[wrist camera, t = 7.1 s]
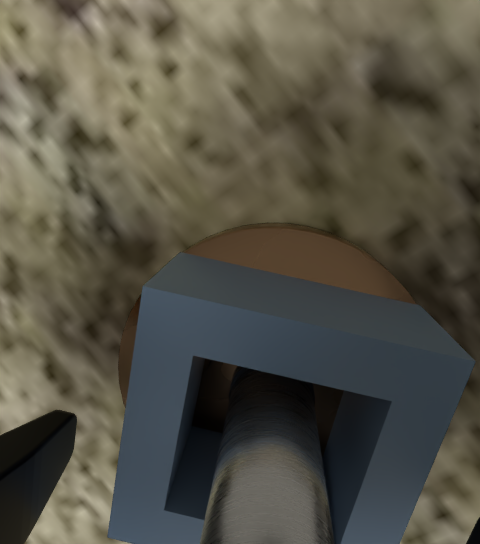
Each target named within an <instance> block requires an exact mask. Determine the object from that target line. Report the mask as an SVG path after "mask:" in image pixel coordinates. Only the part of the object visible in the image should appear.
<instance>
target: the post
mask: <svg viewBox="0 0 480 544" xmlns="http://www.w3.org/2000/svg"><path fill="white" fill-rule="evenodd" d="M182 253H187V254H191V255H196V256H200V257H205V258H209V259H214V260H218V261H223V262H227V263H232V264H236V265H241V266H245V267H250V268H254V269H259V270H263V271H268V272H272V273H277V274H281V275H286V276H290V277H295V278H299V279H304V280H308V281H313V282H317V283H322V284H326V285H331V286H335V287H340V288H344V289H349V290H353V291H358V292H362V293H367V294H371V295H376V296H380V297H384V298H389V299H393V300H398V301H402V302H407V303H411V304H416V303H415V301H414V300H413V298H412V297H411V295H410V294H409V293H408V291H407V290H406V289H405V288H404V287H403V286H402V285H401V284H400V282H399V281H398V280H397V279H396V278H395V277H394V276H393V275H392V274H391V273H390V272H389V271H388V270H387V269H386V268H385V267H384V266H383V265H382V264H381V263H379V262H378V261H377V260H376V259H375V258H373V257H372V256H371V255H370V254H369V253H367V252H366V251H364V250H362V249H361V248H359V247H358V246H356V245H354V244H353V243H351V242H349V241H347V240H345V239H343V238H341V237H338V236H336V235H334V234H332V233H329V232H326V231H322V230H319V229H315V228H312V227H308V226H301V225H295V224H289V223H262V224H252V225H245V226H241V227H237V228H232V229H228V230H225V231H222V232H220V233H217V234H214V235H212V236H209V237H207V238H205V239H203V240H201V241H200V242H198V243H196V244H194V245H192V246H191V247H189V248H188V249H186V250H185V251H184V252H182ZM141 295H142V293H141ZM141 295H140V296H139V298H138V299H137V301H136V303H135V305H134V307H133V309H132V310H131V312H130V314H129V317H128V320H127V322H126V325H125V328H124V330H123V334H122V339H121V344H120V349H119V363H118V371H119V384H120V389H121V394H122V398H123V403H124V405H125V408H126V401H127V394H128V387H129V380H130V373H131V366H132V359H133V352H134V345H135V338H136V330H137V323H138V316H139V309H140V302H141ZM416 305H417V304H416ZM343 392H344V390H340V389H336V388H332V387H328V386H323V385H319V384H315V383H310V382H306V381H302V380H297V379H293V378H289V377H284V376H280V375H276V374H271V373H267V372H263V371H258V370H254V369H250V368H246V367H241V366H237V365H233V364H228V363H224V362H220V361H215V360H211V359H207V358H205V362H204V367H203V372H202V377H201V382H200V387H199V392H198V397H197V402H196V407H195V412H194V417H193V422H192V426H194V427H199V428H203V429H207V430H211V431H215V432H220V433H222V438H221V443H220V448H219V453H218V457H217V462H216V467H215V472H214V477H213V482H212V486H211V491H210V496H209V501H208V506H207V511H206V515H205V520H204V525H203V530H202V535H201V540H200V544H334V537H333V530H332V523H331V516H330V510H329V503H328V496H327V489H326V482H325V476H324V469H323V462H322V457H323V455H324V452H325V448H326V445H327V442H328V439H329V436H330V433H331V430H332V426H333V423H334V420H335V417H336V414H337V411H338V408H339V405H340V401H341V398H342V395H343Z"/></svg>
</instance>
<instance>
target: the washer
mask: <svg viewBox="0 0 480 544" xmlns="http://www.w3.org/2000/svg"><path fill="white" fill-rule="evenodd" d="M205 358H207V359H211V360H215V361H220V362H224V363H228V364H233V365H237V366H241V367H246V368H250V369H254V370H258V371H263V372H267V373H271V374H276V375H280V376H284V377H289V378H293V379H297V380H302V381H306V382H310V383H315V384H319V385H323V386H328V387H332V388H336V389H340V390H344V392H343V395H342V398H341V401H340V405H339V408H338V411H337V414H336V417H335V420H334V423H333V426H332V430H331V433H330V436H329V439H328V442H327V445H326V448H325V452H324V455H323V457H322V462H323V469H324V476H325V482H326V489H327V496H328V503H329V510H330V516H331V523H332V530H333V537H334V544H400V541H401V539H402V537H403V534H404V532H405V529H406V527H407V525H408V522H409V520H410V517H411V515H412V513H413V510H414V508H415V506H416V503H417V501H418V498H419V496H420V494H421V491H422V489H423V486H424V484H425V482H426V479H427V477H428V474H429V472H430V470H431V467H432V465H433V463H434V460H435V458H436V455H437V453H438V451H439V448H440V446H441V443H442V441H443V439H444V436H445V434H446V431H447V429H448V427H449V424H450V422H451V420H452V417H453V415H454V412H455V410H456V408H457V405H458V403H459V400H460V398H461V396H462V393H463V391H464V388H465V386H466V384H467V381H468V379H469V377H470V374H471V372H472V369H473V367H474V365H475V362H476V361H475V360H474V359H473V358H472V357H471V356H470V355H469V354H468V353H467V352H466V351H465V350H464V349H463V348H462V347H461V346H460V345H459V344H458V343H457V342H456V341H455V340H454V339H453V338H452V337H451V336H450V335H449V334H448V333H447V332H446V331H445V330H444V329H443V328H442V327H441V326H440V325H439V324H438V323H437V322H436V321H435V320H434V319H433V318H432V317H431V316H430V315H429V314H428V313H427V312H426V311H425V310H424V309H423V308H422V307H421V306H420V305H416V304H411V303H407V302H402V301H398V300H393V299H389V298H384V297H380V296H376V295H371V294H367V293H362V292H358V291H353V290H349V289H344V288H340V287H335V286H331V285H326V284H322V283H317V282H313V281H308V280H304V279H299V278H295V277H290V276H286V275H281V274H277V273H272V272H268V271H263V270H259V269H254V268H250V267H245V266H241V265H236V264H232V263H227V262H223V261H218V260H214V259H209V258H205V257H200V256H196V255H191V254H187V253H182V252H180V253H179V254H177V255H176V256H175V257H174V258H173V259H172V260H171V261H170V262H169V263H168V264H166V265H165V266H164V267H163V268H162V269H161V270H160V271H159V272H158V273H157V274H155V275H154V276H153V277H152V278H151V279H150V280H149V281H148V282H147V283H146V284H144V285H143V288H142V295H141V302H140V309H139V316H138V323H137V330H136V338H135V345H134V352H133V359H132V366H131V373H130V380H129V387H128V394H127V401H126V409H125V416H124V423H123V430H122V437H121V444H120V451H119V458H118V465H117V473H116V480H115V487H114V494H113V501H112V508H111V515H110V522H109V529H108V538H112V539H116V540H120V541H124V542H128V543H132V544H200V540H201V535H202V530H203V525H204V520H205V515H206V511H207V506H208V501H209V496H210V491H211V486H212V482H213V477H214V472H215V467H216V462H217V457H218V453H219V448H220V443H221V438H222V433H220V432H215V431H211V430H207V429H203V428H199V427H194V426H192V422H193V417H194V412H195V407H196V402H197V397H198V392H199V387H200V382H201V377H202V372H203V367H204V362H205Z"/></svg>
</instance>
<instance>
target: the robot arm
mask: <svg viewBox="0 0 480 544" xmlns="http://www.w3.org/2000/svg"><path fill="white" fill-rule="evenodd" d="M76 424H77V417H76V415H75V414H74V413H70V412H66V411H62V410H54V411H52V412H50V413H47V414H45V415H43V416H41V417H39V418H37V419H35V420H32V421H30V422H28V423H26V424H24V425H22V426H19V427H17V428H15V429H13V430H11V431H9V432H6V433H4V434H2V435H0V544H24V543H25V541H26V540H27V538H28V536H29V535H30V533H31V531H32V529H33V528H34V526H35V524H36V522H37V520H38V518H39V517H40V515H41V513H42V511H43V509H44V507H45V505H46V503H47V502H48V500H49V498H50V496H51V494H52V492H53V490H54V488H55V487H56V485H57V483H58V481H59V479H60V477H61V475H62V473H63V472H64V470H65V468H66V466H67V464H68V462H69V460H70V458H71V456H72V453H73V449H74V443H75V434H76ZM466 544H480V517H479V519H478V520H477V522H476V524H475V527H474V529H473V531H472V533H471V535H470V537H469V539H468V541H467V543H466Z"/></svg>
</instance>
